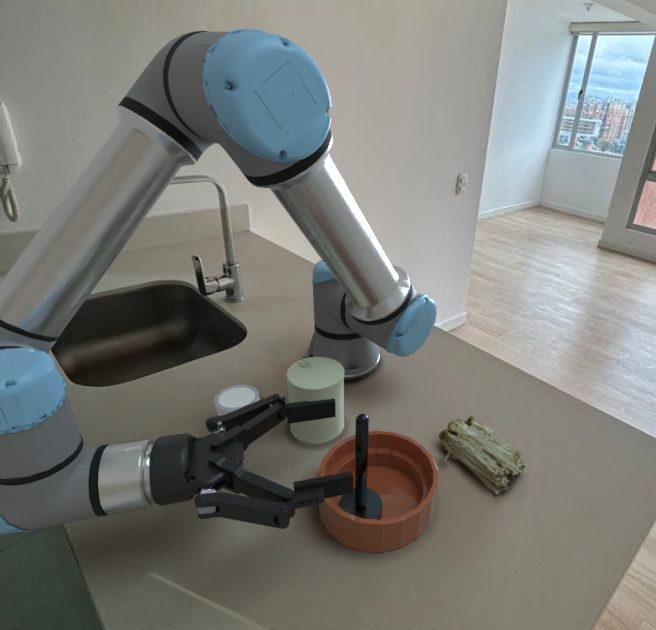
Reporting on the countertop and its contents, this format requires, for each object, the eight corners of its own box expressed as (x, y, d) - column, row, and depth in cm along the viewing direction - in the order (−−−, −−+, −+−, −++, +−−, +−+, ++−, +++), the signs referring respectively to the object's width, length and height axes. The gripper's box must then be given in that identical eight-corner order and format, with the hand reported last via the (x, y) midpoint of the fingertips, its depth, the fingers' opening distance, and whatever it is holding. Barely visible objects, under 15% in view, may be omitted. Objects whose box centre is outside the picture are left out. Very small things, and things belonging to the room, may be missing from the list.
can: (321, 403, 83) (319, 347, 77) (355, 426, 78) (356, 369, 72) (278, 427, 76) (273, 368, 71) (313, 454, 71) (310, 394, 66)
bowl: (353, 447, 74) (353, 419, 71) (448, 479, 69) (452, 450, 66) (295, 528, 60) (293, 496, 57) (409, 575, 55) (412, 543, 52)
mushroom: (429, 452, 74) (432, 426, 72) (468, 428, 80) (472, 404, 77) (496, 509, 65) (502, 483, 62) (535, 478, 71) (542, 452, 68)
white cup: (271, 428, 76) (268, 395, 73) (236, 451, 71) (231, 416, 68) (245, 411, 79) (241, 378, 76) (210, 432, 74) (204, 398, 71)
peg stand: (362, 487, 66) (365, 393, 58) (390, 513, 62) (397, 416, 54) (329, 511, 62) (327, 413, 54) (357, 540, 58) (359, 440, 50)
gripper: (177, 424, 63) (329, 403, 69) (138, 600, 42) (362, 547, 48) (167, 380, 59) (329, 363, 66) (119, 548, 38) (363, 498, 45)
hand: (343, 441), depth 57 cm, fingers open, 13 cm apart
